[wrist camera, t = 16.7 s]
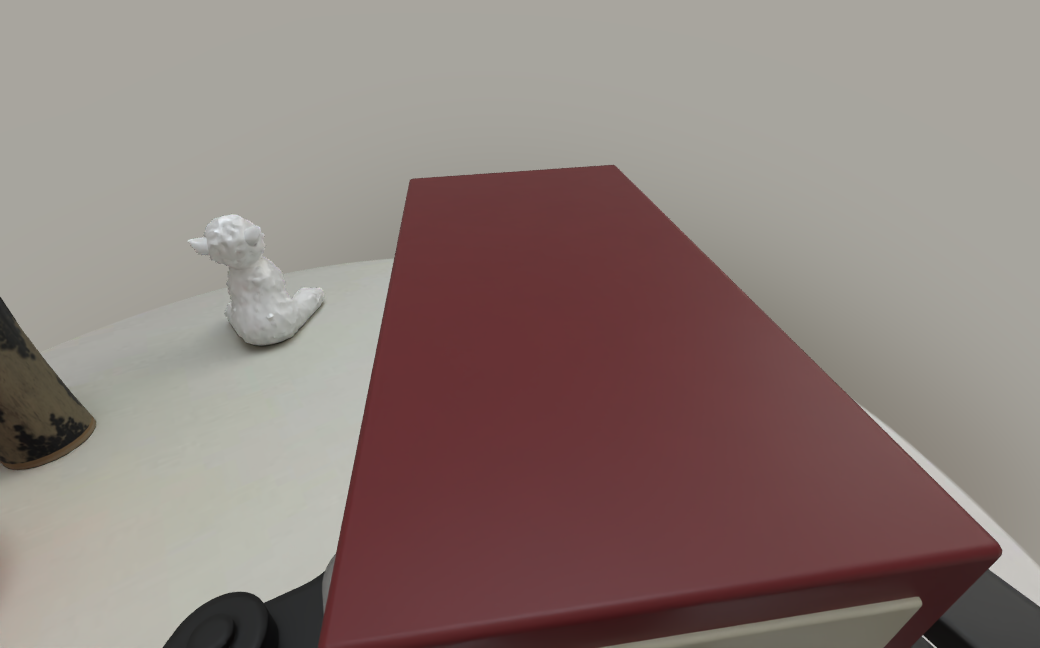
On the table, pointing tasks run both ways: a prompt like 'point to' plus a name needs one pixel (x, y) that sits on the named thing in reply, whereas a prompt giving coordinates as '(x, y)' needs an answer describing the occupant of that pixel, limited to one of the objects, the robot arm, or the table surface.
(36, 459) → the mug
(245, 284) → the seated beast figurine
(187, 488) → the table surface
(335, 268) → the table surface
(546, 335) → the dark red rectangular block
